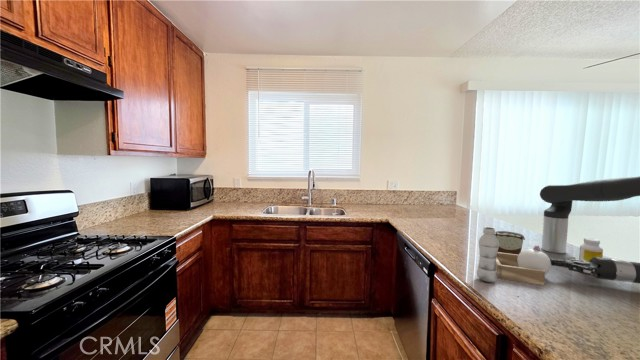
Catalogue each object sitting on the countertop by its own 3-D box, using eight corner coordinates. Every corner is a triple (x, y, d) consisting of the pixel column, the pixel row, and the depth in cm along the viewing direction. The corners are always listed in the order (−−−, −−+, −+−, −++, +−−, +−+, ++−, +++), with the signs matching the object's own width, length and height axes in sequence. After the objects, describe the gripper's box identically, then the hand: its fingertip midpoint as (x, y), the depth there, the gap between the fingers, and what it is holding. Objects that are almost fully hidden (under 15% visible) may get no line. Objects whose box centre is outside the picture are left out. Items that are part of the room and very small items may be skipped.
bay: (489, 262, 116) (489, 251, 116) (528, 267, 111) (529, 255, 110) (497, 277, 101) (498, 265, 100) (544, 285, 95) (544, 271, 94)
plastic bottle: (472, 277, 101) (474, 226, 100) (488, 276, 102) (491, 226, 100) (484, 284, 95) (486, 230, 93) (501, 284, 95) (504, 230, 94)
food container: (522, 253, 128) (523, 233, 127) (524, 256, 123) (525, 236, 122) (492, 248, 135) (493, 229, 134) (492, 252, 130) (493, 232, 129)
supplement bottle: (606, 273, 104) (608, 242, 104) (586, 272, 106) (589, 241, 105) (592, 267, 111) (594, 237, 110) (574, 266, 112) (576, 236, 111)
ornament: (550, 275, 103) (552, 245, 102) (549, 283, 96) (551, 251, 95) (518, 267, 110) (520, 239, 109) (514, 275, 103) (516, 245, 102)
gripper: (601, 253, 99) (544, 247, 106) (625, 266, 87) (558, 258, 94) (600, 272, 100) (543, 265, 107) (623, 287, 88) (557, 278, 95)
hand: (550, 261), depth 101 cm, fingers closed
